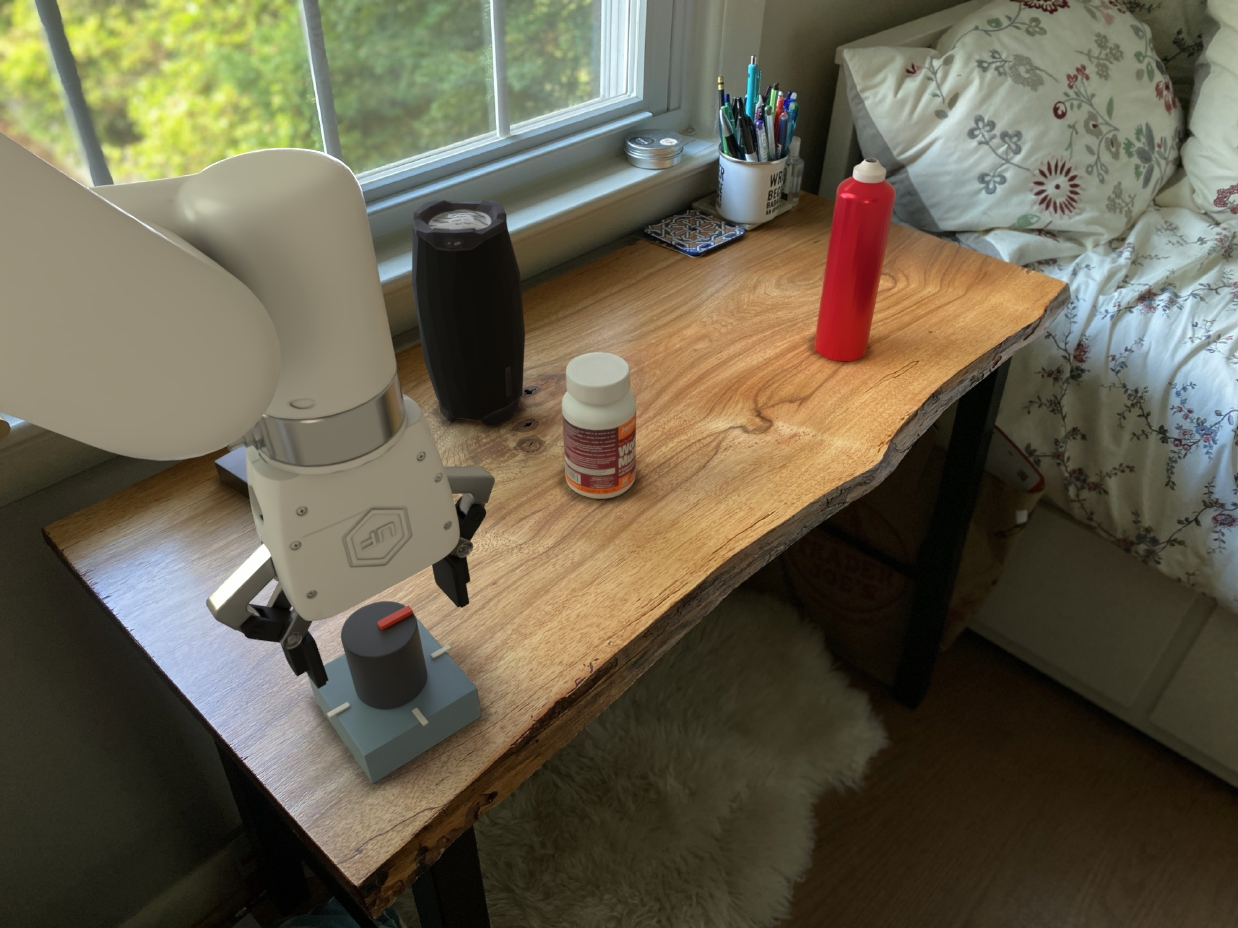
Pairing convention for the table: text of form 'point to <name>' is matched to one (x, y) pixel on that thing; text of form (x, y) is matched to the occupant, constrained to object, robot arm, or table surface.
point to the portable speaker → (469, 308)
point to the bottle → (854, 262)
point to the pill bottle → (599, 426)
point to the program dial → (384, 654)
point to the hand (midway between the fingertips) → (385, 631)
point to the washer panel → (399, 712)
